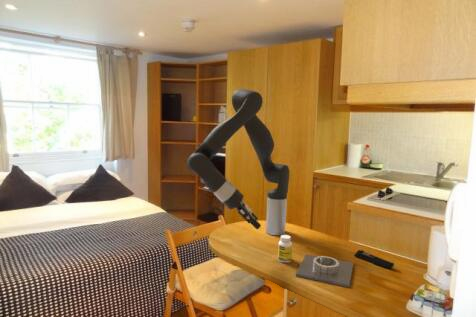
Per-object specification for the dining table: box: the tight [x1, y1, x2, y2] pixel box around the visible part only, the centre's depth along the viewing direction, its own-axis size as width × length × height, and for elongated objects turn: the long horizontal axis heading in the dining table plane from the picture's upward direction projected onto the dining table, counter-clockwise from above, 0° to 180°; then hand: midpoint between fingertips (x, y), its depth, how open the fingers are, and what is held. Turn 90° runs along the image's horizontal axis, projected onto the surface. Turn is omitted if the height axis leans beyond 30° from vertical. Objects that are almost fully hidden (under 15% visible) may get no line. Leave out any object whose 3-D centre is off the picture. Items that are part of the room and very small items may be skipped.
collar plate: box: [295, 253, 354, 288], centre depth 121 cm, size 18×18×4 cm
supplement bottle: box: [277, 234, 293, 263], centre depth 129 cm, size 5×5×10 cm
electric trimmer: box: [354, 249, 395, 269], centre depth 130 cm, size 4×16×3 cm, turn 37°
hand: (257, 223), depth 127 cm, fingers open, 8 cm apart
